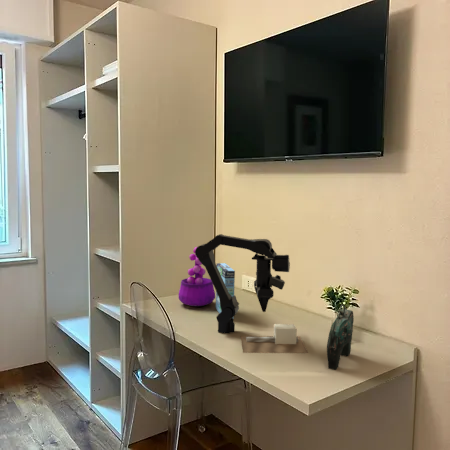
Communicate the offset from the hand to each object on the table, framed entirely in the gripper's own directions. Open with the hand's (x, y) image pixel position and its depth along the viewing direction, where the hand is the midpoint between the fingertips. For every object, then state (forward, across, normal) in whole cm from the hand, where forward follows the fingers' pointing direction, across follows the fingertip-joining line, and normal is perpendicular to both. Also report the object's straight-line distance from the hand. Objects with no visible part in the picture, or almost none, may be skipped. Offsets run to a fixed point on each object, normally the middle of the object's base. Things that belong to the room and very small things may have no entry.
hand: (262, 308), depth 187 cm
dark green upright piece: (+12, -24, -26) cm, 37 cm away
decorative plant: (+12, +49, +29) cm, 58 cm away
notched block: (+11, -8, -8) cm, 16 cm away
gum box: (+12, +33, +15) cm, 38 cm away
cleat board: (+12, -11, -3) cm, 17 cm away
